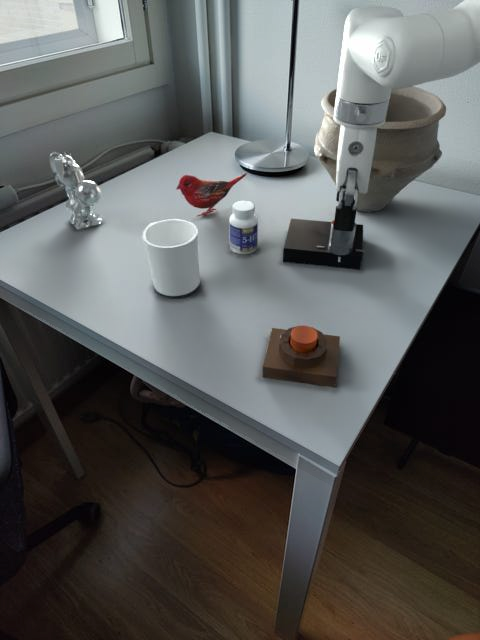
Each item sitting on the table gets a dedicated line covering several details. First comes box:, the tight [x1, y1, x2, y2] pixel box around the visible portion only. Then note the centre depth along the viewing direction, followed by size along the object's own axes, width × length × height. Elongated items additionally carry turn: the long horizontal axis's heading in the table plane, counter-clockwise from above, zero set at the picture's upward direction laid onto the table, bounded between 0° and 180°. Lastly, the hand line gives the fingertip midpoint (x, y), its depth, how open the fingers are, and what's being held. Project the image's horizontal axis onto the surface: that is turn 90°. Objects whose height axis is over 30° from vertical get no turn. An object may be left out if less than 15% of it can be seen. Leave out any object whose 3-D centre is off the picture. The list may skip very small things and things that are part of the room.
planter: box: [313, 86, 447, 213], centre depth 94 cm, size 25×24×22 cm
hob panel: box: [282, 218, 365, 271], centre depth 86 cm, size 14×14×3 cm
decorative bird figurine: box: [175, 173, 248, 217], centre depth 97 cm, size 3×18×10 cm, turn 127°
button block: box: [262, 325, 341, 388], centre depth 65 cm, size 10×8×4 cm
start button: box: [290, 325, 318, 353], centre depth 63 cm, size 4×4×2 cm
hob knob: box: [328, 219, 357, 255], centre depth 81 cm, size 4×4×5 cm
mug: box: [141, 218, 201, 299], centre depth 78 cm, size 11×9×10 cm
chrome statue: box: [48, 151, 103, 230], centre depth 92 cm, size 15×6×15 cm, turn 39°
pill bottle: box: [229, 200, 259, 255], centre depth 86 cm, size 5×5×9 cm
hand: (344, 215), depth 78 cm, fingers open, 9 cm apart
